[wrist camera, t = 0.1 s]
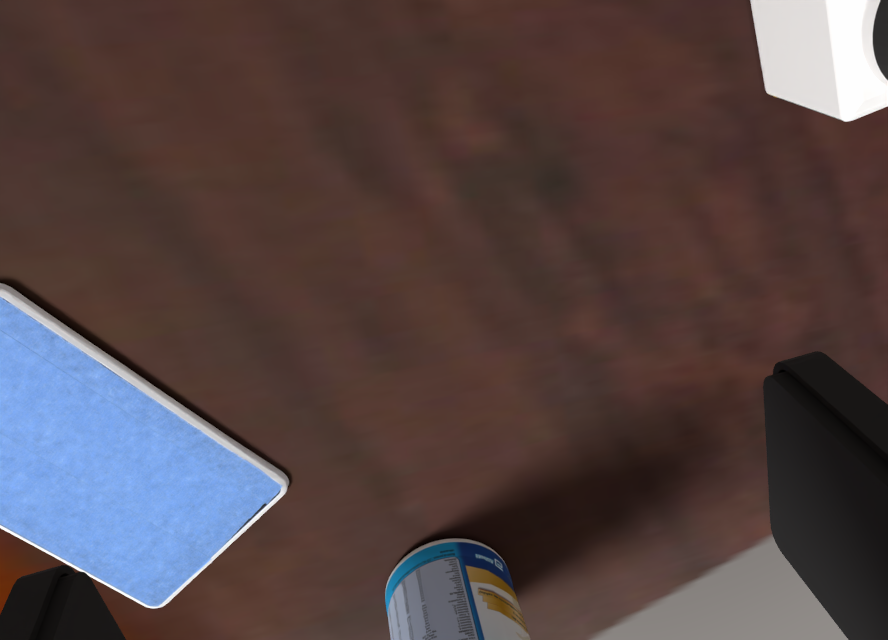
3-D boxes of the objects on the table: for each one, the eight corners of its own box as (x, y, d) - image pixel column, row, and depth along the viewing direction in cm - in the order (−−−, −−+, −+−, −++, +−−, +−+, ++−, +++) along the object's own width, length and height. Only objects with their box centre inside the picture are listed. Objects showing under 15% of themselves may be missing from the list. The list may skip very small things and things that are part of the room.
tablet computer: (296, 475, 48) (296, 489, 47) (159, 603, 51) (156, 619, 49) (-1, 269, 40) (-11, 279, 39) (-146, 433, 43) (-159, 448, 41)
